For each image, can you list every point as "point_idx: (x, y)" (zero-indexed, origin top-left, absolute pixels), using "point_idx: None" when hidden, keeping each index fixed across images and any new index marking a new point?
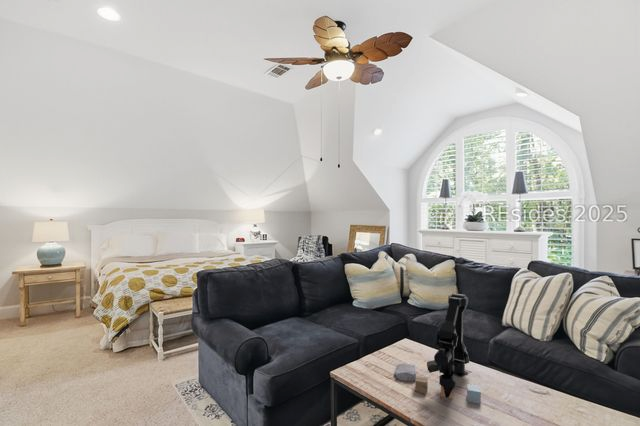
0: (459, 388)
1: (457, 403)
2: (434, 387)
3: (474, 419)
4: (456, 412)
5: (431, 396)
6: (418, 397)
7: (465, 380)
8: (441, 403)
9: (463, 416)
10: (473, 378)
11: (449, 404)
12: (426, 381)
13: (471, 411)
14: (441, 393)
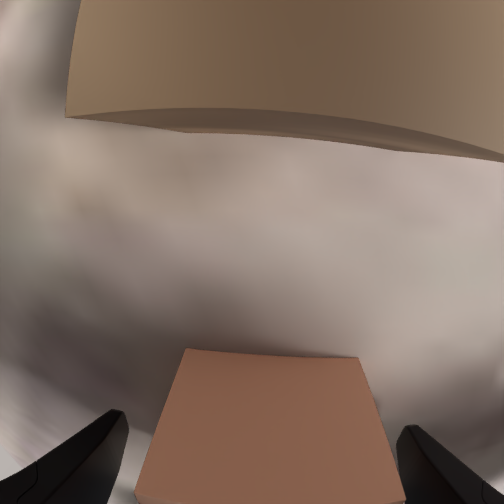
0: None
1: (125, 456)
2: (427, 271)
3: (22, 464)
4: (7, 408)
5: (122, 211)
6: (50, 33)
7: (496, 476)
8: (36, 328)
9: (3, 428)
10: (500, 492)
11: (66, 397)
12: (159, 78)
13: None
14: (177, 382)
